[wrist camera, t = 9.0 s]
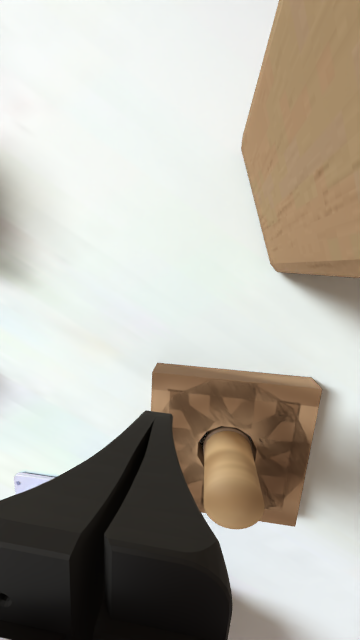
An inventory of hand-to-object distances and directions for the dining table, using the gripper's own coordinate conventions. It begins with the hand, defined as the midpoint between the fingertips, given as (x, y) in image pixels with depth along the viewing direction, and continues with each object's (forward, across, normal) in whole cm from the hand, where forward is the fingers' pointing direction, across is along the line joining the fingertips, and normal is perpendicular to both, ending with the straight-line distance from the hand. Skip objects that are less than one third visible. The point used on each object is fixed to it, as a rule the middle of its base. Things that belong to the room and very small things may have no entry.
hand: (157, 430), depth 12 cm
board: (+10, -5, +7) cm, 13 cm away
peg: (+10, -5, +7) cm, 13 cm away
